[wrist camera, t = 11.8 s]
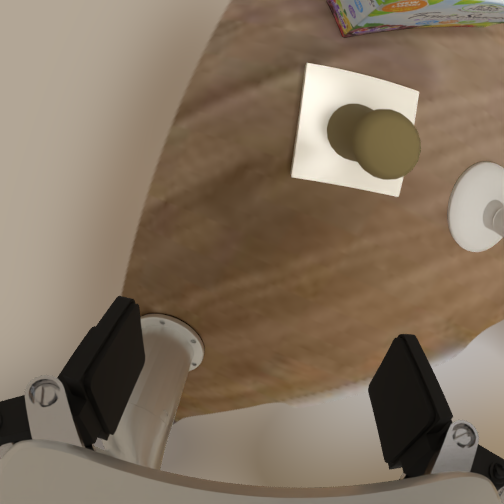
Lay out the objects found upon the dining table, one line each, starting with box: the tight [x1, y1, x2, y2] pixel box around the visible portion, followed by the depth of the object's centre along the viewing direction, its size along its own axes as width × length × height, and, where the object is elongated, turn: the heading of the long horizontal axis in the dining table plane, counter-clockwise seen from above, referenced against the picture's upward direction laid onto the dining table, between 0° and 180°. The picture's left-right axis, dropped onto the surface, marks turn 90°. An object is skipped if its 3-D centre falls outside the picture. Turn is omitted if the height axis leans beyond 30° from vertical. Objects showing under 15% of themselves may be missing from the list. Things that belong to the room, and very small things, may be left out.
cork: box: [327, 104, 421, 180], centre depth 22 cm, size 6×6×11 cm
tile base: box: [291, 63, 419, 197], centre depth 28 cm, size 12×12×2 cm
